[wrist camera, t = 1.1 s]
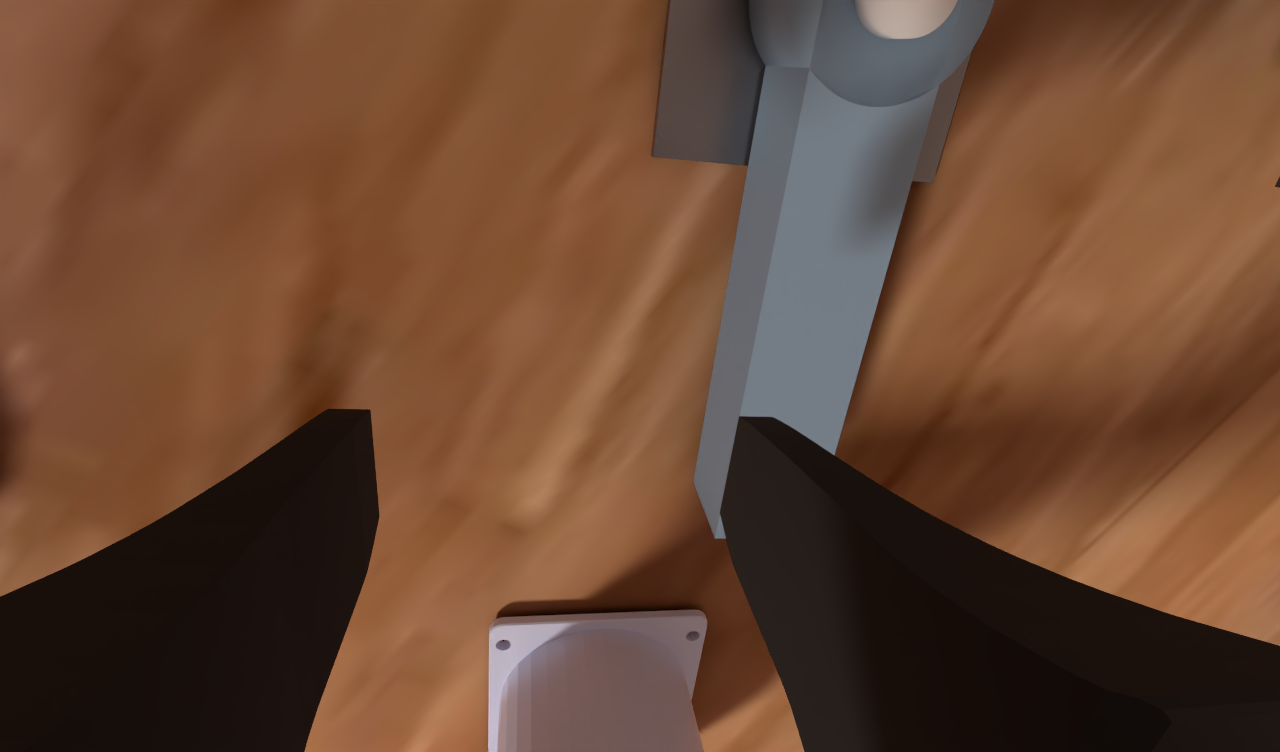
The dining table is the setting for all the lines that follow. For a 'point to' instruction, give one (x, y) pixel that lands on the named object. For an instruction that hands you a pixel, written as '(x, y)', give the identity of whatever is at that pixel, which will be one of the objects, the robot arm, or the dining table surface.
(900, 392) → the dining table surface
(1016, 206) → the dining table surface
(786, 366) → the link
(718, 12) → the grey flat square plate
